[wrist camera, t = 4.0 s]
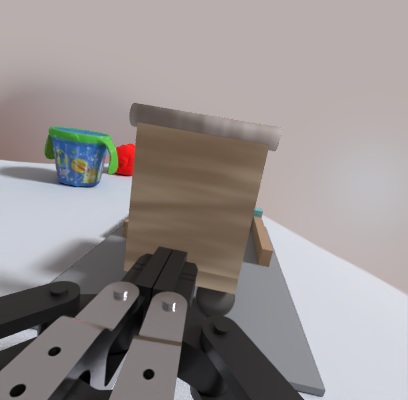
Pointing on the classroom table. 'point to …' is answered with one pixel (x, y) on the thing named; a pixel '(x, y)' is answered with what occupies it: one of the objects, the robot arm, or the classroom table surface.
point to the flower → (125, 159)
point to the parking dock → (243, 307)
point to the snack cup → (80, 155)
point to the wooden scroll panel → (196, 193)
